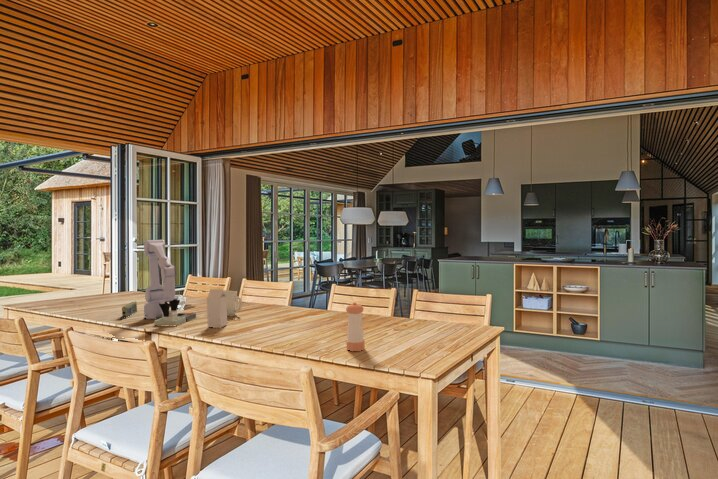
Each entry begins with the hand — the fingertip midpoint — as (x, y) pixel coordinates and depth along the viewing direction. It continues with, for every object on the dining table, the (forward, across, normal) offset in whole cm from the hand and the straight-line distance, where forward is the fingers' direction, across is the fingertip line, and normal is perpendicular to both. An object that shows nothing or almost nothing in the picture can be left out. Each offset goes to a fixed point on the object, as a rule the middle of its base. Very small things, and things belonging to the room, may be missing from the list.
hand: (170, 315), depth 243 cm
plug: (+4, 0, 0) cm, 4 cm away
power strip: (+5, +12, +3) cm, 13 cm away
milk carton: (+5, -4, -28) cm, 29 cm away
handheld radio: (+5, +21, +37) cm, 43 cm away
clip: (+2, +18, +7) cm, 19 cm away
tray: (+5, 0, 0) cm, 5 cm away
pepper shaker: (+5, -44, -104) cm, 113 cm away
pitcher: (+5, +24, -23) cm, 33 cm away
